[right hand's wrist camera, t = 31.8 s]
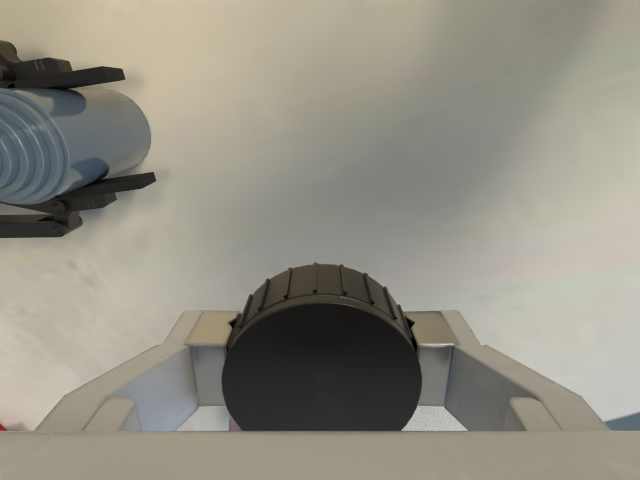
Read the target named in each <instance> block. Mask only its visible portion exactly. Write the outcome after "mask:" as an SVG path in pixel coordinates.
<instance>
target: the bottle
mask: <svg viewBox="0 0 640 480" xmlns="http://www.w3.org/2000/svg"><path fill="white" fill-rule="evenodd" d="M150 142H151V134H150V128H149V124H148V122H147V119H146V117H145V115H144V114H143V112H142V111H141V109H140V108H139V107H138V106H137V105H136V104H135V103H134V102H133V101H132V100H131V99H129V98H128V97H126V96H125V95H123V94H121V93H118V92H115V91H111V90H93V89H44V88H0V201H1V202H5V203H11V204H27V205H28V204H37V203H41V202H44V201H47V200H49V199H52V198H54V197H57V196H60V195H62V194H65V193H67V192H70V191H72V190H75V189H78V188H80V187H83V186H85V185H88V184H90V183H93V182H96V181H98V180H101V179H103V178H106V177H108V176H111V175H114V174H116V173H119V172H121V171H124V170H126V169H129V168H132V167H134V166H136V165H137V164H139V163H140V162H141V161H142V160H143V159H144V157H145V156H146V154H147V152H148V150H149V147H150Z"/></svg>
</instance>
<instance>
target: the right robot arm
mask: <svg viewBox="0 0 640 480" xmlns="http://www.w3.org/2000/svg"><path fill="white" fill-rule="evenodd" d="M239 313H240V314H241V312H240V311H203V310H193V311H184V312H183V313H182V315H181V316H180V318H179V319H178V321H177V322H176V324H175V326H174V327H173V329H172V330H171V332H170V333H169V335H168V336H167V338H166V340H165V341H164V343H163V344H162V345H156V346H154V347H152V348H150V349H149V350H147V351H145V352H143V353H141V354H139V355H138V356H136V357H134V358H132V359H130V360H129V361H127V362H125V363H123V364H121V365H119V366H118V367H116V368H114V369H112V370H110V371H108V372H107V373H105V374H103V375H101V376H99V377H97V378H96V379H94V380H92V381H90V382H88V383H86V384H85V385H83V386H81V387H79V388H77V389H76V390H74V391H72V392H70V393H68V394H66V395H65V396H63V398H62V399H61V400H60V401H59V402H58V403H57V405H56V406H55V407H54V408H53V409H52V410H51V412H50V413H49V414H48V415H47V416H46V417H45V418H44V420H43V421H42V422H41V423H40V424H39V425H38V427H37V428H36V429H35V430H34V431H0V480H640V431H611V430H610V429H609V428H608V427H607V426H606V424H605V423H604V422H603V421H602V420H601V419H600V417H599V416H598V415H597V414H596V413H595V412H594V411H593V409H592V408H591V407H590V406H589V405H588V404H587V402H586V401H585V400H584V399H583V398H582V397H581V396H580V395H578V394H576V393H574V392H572V391H570V390H569V389H567V388H565V387H563V386H561V385H559V384H558V383H556V382H554V381H552V380H550V379H548V378H547V377H545V376H543V375H541V374H539V373H537V372H535V371H534V370H532V369H530V368H528V367H526V366H524V365H523V364H521V363H519V362H517V361H515V360H513V359H512V358H510V357H508V356H506V355H504V354H502V353H501V352H499V351H497V350H495V349H493V348H491V347H490V346H488V345H481V343H480V342H479V340H478V339H477V337H476V336H475V334H474V333H473V331H472V330H471V328H470V327H469V325H468V324H467V322H466V321H465V319H464V318H463V316H462V315H461V313H460V312H459V311H457V310H449V311H414V312H403V314H404V316H405V319H406V322H407V324H408V327H409V329H410V332H411V335H412V337H413V339H412V340H411V341H412V344H413V346H414V349H415V352H416V354H417V357H418V360H419V363H420V367H421V373H422V389H421V395H420V399H419V402H418V405H417V406H445V409H446V410H447V411H448V412H449V413H451V414H452V415H453V416H454V417H455V418H456V419H457V420H458V421H459V422H460V423H461V424H462V425H463V426H464V427H465V428H466V429H467V430H468V431H175V430H176V429H178V428H179V427H180V426H181V425H182V424H183V423H184V422H185V421H186V420H187V419H188V418H189V417H190V416H191V415H192V414H193V413H194V412H195V411H196V410H197V409H198V408H199V407H198V406H226V404H225V401H224V397H223V392H222V382H221V380H222V370H223V366H224V362H225V359H226V356H227V353H228V351H229V350H228V349H227V345H228V343H229V340H230V337H231V335H232V332H233V329H234V326H235V324H236V321H237V318H238V316H239Z"/></svg>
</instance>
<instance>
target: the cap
mask: <svg viewBox="0 0 640 480" xmlns="http://www.w3.org/2000/svg"><path fill="white" fill-rule="evenodd" d="M412 339H413V337H412V335H411V332H410V329H409V327H408V324H407V322H406V319H405V316H404V314H403V311H402V309H401V306H400V304H399V305H397V304H396V302H395V300H394V299H393V298H392V296H391V295H390V294H389V292H388V289H387V287H383V286H381V285H380V284H379V283H377V282H376V281H375V280H374V279H372V278H370V277H369V276H368V274H367V273H364V274H363V273H360V272H358V271H356V270H353V269H350V268H346V267H344V265H341V264H340V266H337V265H329V264H317V263H314V265H306V266H301V267H296V268H293V269H292V268H288V271H285V272H283V273H281V274H279V275H276V276H274V277H273V278H271V279H270V280H269V278H268V279H266V281H265V283H264V284H263V285H262V286H261V287H260V288H259V289H257V291H256V292H255V293H254V294H253V295H251V294H250V295H249V297H248V300H247V303H246V305H245V308H244V310H243V312H242V314H240V313H239V316H238V318H237V321H236V324H235V326H234V329H233V332H232V335H231V337H230V340H229V343H228V345H227V349H228V350H229V351H228V353H227V356H226V359H225V362H224V366H223V370H222V380H221V382H222V392H223V397H224V401H225V404H226V406H227V409H228V411H229V413H230V415H231V416H232V418H233V420H234V421H235V422H236V424H237V425H238V426H239V427H240V429H241V430H242V431H401V430H402V429H403V428H404V427H405V426H406V424H407V423H408V422H409V420H410V419H411V417H412V416H413V414H414V412H415V410H416V408H417V405H418V402H419V399H420V395H421V389H422V373H421V367H420V363H419V360H418V357H417V354H416V352H415V349H414V346H413V344H412V341H411V340H412Z"/></svg>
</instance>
